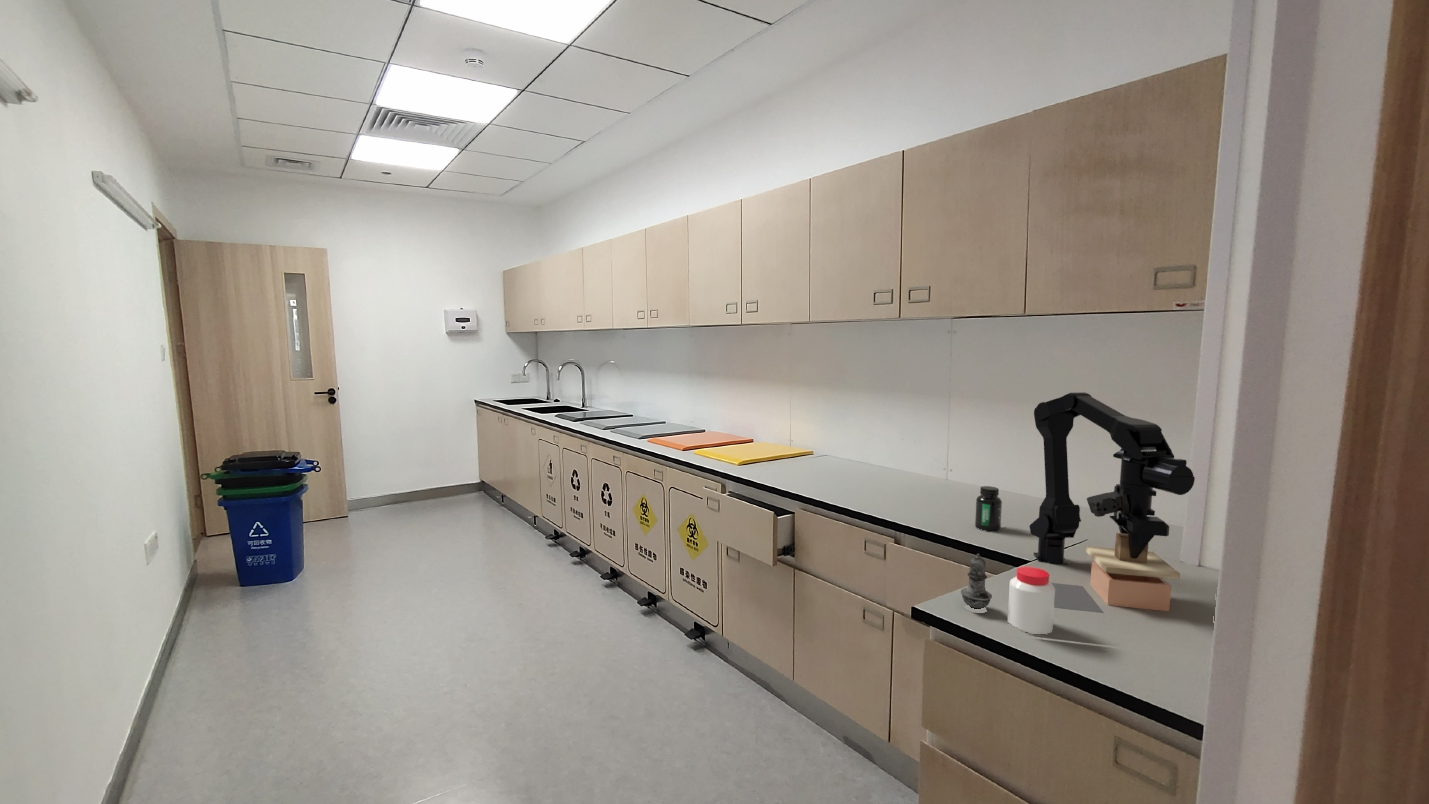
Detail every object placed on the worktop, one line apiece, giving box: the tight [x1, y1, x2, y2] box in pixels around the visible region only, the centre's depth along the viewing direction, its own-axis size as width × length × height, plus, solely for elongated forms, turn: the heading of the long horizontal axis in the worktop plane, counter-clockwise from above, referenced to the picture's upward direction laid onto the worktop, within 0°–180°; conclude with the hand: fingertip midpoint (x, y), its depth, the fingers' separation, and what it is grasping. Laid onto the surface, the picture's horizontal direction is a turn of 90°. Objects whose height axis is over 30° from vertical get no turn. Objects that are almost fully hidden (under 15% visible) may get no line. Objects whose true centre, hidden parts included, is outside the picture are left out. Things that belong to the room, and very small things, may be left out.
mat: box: [1050, 582, 1104, 614], centre depth 132 cm, size 14×14×1 cm
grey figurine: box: [960, 553, 993, 609], centre depth 125 cm, size 6×6×12 cm
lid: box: [1085, 532, 1181, 581], centre depth 130 cm, size 13×13×6 cm
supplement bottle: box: [974, 485, 1003, 532], centre depth 179 cm, size 7×7×12 cm
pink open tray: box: [1090, 560, 1172, 612], centre depth 131 cm, size 11×11×6 cm
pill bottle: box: [1007, 566, 1055, 635], centre depth 117 cm, size 8×8×11 cm
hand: (1130, 555), depth 130 cm, fingers closed on lid, 3 cm apart
